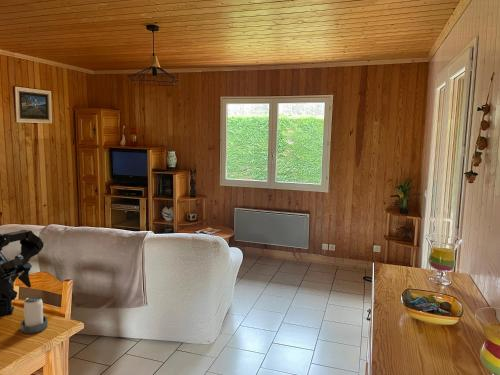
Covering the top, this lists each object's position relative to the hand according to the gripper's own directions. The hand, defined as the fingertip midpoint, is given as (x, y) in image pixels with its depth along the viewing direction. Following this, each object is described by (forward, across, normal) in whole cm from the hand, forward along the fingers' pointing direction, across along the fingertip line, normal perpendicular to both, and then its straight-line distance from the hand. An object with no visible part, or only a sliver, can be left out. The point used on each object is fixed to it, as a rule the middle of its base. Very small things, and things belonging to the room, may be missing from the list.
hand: (20, 291), depth 153 cm
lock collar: (+15, -2, +4) cm, 16 cm away
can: (+15, -2, +4) cm, 16 cm away
